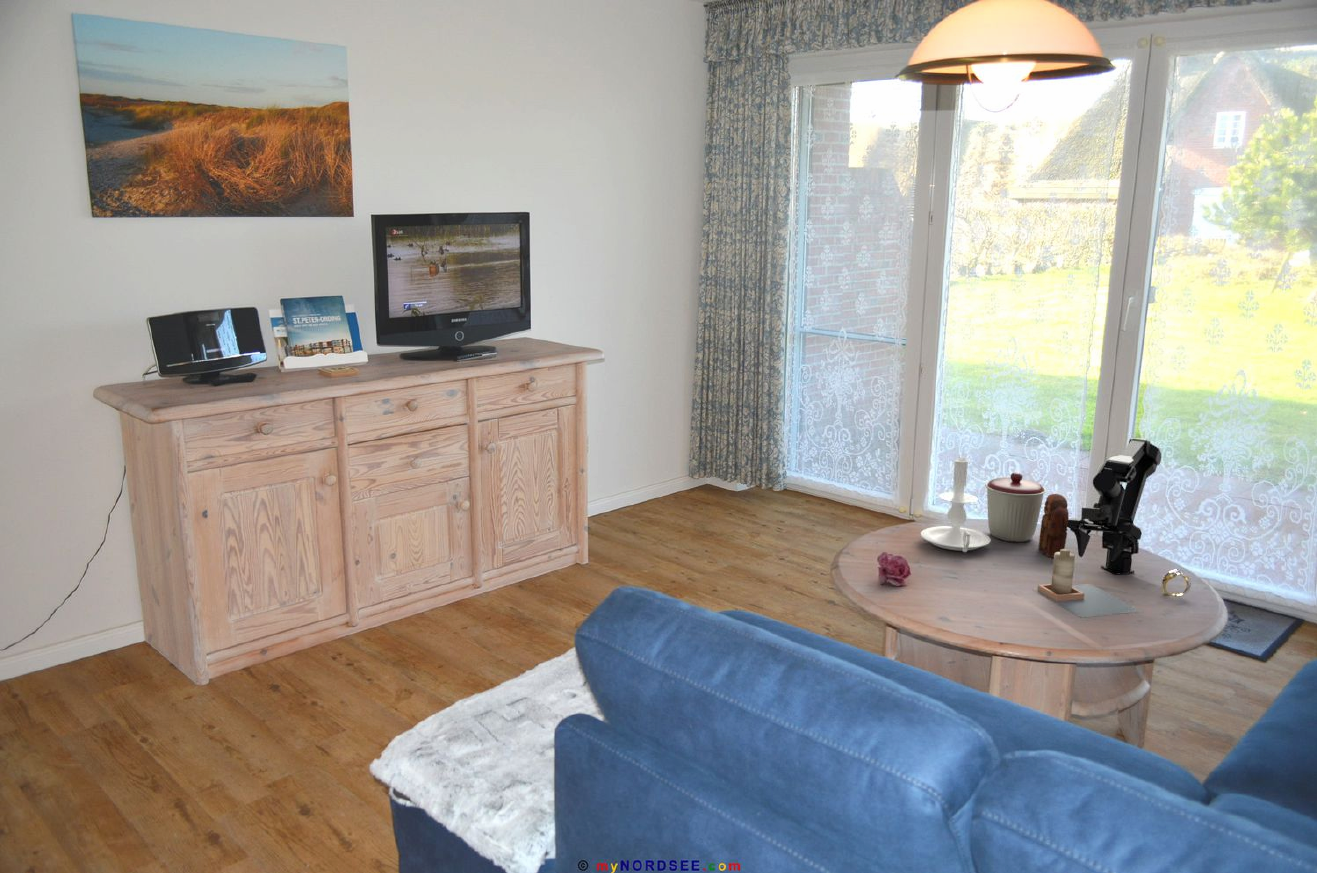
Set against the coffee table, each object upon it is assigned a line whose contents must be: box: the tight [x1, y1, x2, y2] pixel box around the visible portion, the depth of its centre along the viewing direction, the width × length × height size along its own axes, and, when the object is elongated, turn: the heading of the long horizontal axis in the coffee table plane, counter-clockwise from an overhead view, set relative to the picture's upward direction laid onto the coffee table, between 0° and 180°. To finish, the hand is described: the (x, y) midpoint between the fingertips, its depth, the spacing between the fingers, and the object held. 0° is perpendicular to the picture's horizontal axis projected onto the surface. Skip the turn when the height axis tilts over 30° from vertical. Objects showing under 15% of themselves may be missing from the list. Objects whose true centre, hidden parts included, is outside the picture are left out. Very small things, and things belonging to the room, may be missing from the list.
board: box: [1032, 583, 1143, 619], centre depth 259 cm, size 20×18×2 cm
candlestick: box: [920, 457, 992, 553], centre depth 300 cm, size 21×25×28 cm
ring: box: [1161, 568, 1192, 599], centre depth 263 cm, size 7×3×8 cm, turn 79°
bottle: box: [1050, 548, 1076, 595], centre depth 262 cm, size 5×5×12 cm
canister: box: [984, 471, 1047, 543], centre depth 312 cm, size 18×18×21 cm
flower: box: [876, 551, 912, 587], centre depth 274 cm, size 10×9×9 cm
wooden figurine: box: [1038, 493, 1070, 559], centre depth 298 cm, size 12×6×18 cm, turn 176°
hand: (1095, 558), depth 266 cm, fingers open, 9 cm apart
